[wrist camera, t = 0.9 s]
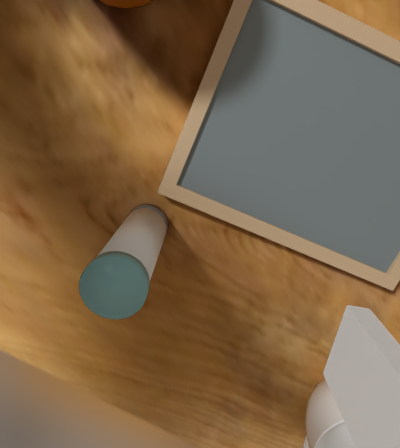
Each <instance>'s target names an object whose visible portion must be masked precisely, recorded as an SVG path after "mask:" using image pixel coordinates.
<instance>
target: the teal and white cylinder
mask: <svg viewBox="0 0 400 448" xmlns="http://www.w3.org/2000/svg"><path fill="white" fill-rule="evenodd" d="M167 229H168V219H167V216H166V215H165V213H164V212H163V211H162V210H161V209H160V208H159V207H157V206H155V205H151V204H142V205H139V206H137V207H136V208H134V209H133V210H132V211H131V213H130V214H129V215H128V217H127V218H126V219H125V220H124V222H123V223H122V224H121V226H120V227H119V228H118V230H117V231H116V232H115V234H114V235H113V236H112V237H111V239H110V240H109V241H108V243H107V244H106V245H105V247H104V248H103V249H102V250H101V252H100V253H99V254H98V256H96V257H95V258H94V259H93V260H92V261H91V262H90V263H89V265H88V266H87V267H86V268H85V270H84V271H83V273H82V275H81V277H80V281H79V291H80V295H81V298H82V300H83V302H84V303H85V305H86V306H87V307H88V308H89V309H90V310H91V311H92V312H94V313H95V314H97V315H99V316H101V317H104V318H108V319H124V318H127V317H130V316H132V315H133V314H135V313H136V312H138V311H139V310H140V309H141V307H142V306H143V304H144V302H145V300H146V297H147V294H148V291H149V286H150V280H151V277H152V274H153V271H154V268H155V265H156V262H157V259H158V256H159V253H160V250H161V247H162V244H163V241H164V238H165V235H166V232H167Z"/></svg>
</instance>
